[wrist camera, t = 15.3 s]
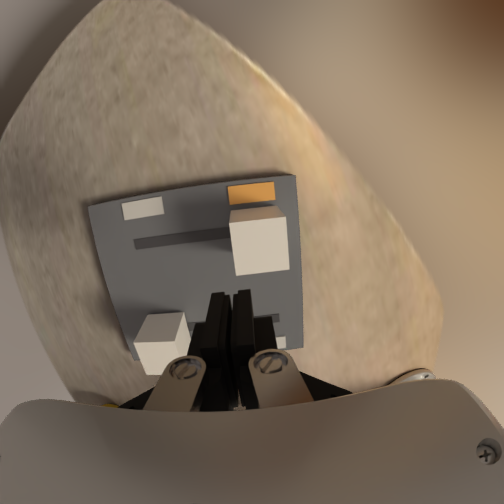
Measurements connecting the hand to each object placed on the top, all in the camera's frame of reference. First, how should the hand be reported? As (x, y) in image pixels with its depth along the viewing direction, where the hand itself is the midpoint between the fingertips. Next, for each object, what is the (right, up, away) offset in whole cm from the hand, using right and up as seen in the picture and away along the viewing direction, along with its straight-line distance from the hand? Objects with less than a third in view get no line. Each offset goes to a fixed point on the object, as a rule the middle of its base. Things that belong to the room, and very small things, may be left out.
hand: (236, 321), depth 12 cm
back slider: (-8, -5, +16) cm, 18 cm away
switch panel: (-5, 0, +16) cm, 17 cm away
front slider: (+1, +5, +13) cm, 14 cm away
